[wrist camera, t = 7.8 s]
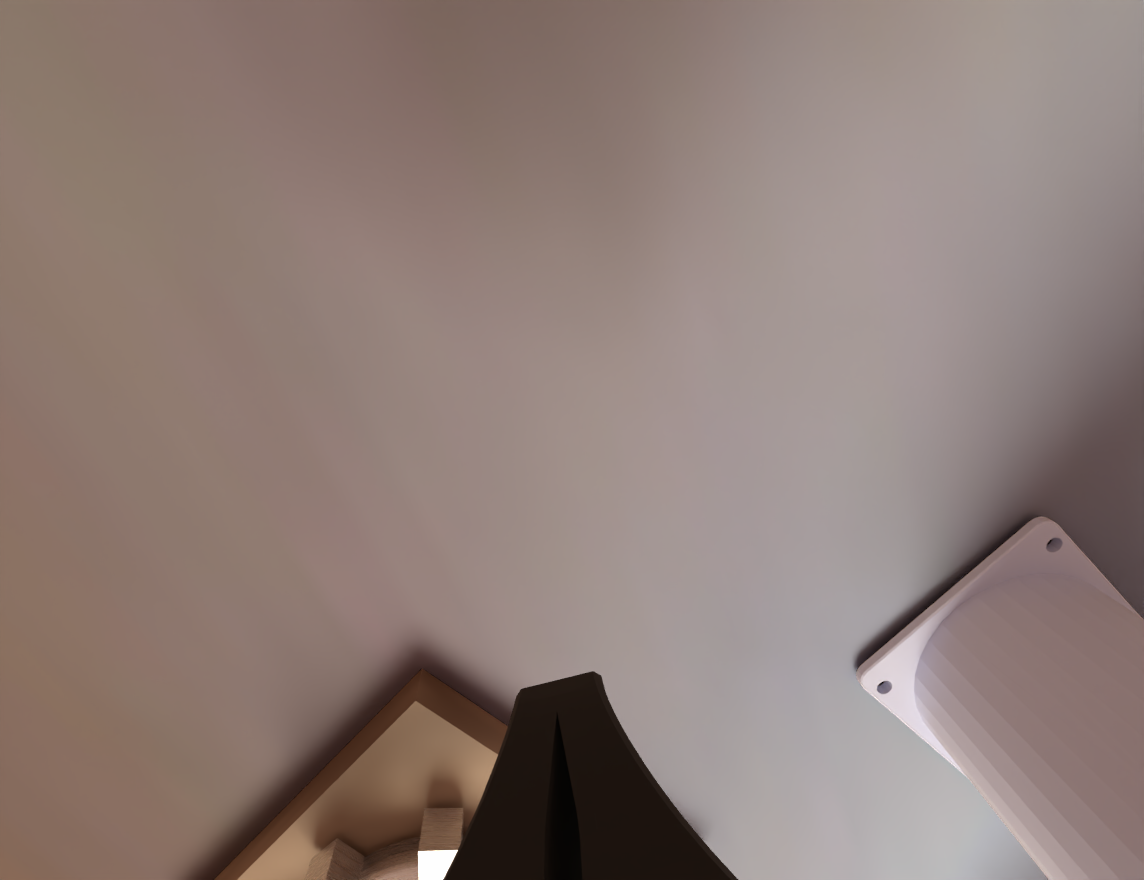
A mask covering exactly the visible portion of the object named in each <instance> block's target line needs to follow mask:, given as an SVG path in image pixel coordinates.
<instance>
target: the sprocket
mask: <svg viewBox="0 0 1144 880" xmlns="http://www.w3.org/2000/svg"><path fill="white" fill-rule="evenodd" d="M463 837H464V835H463V808H427V809H425V810H424V816H423V823H422V830H421V836H420V837H418V838H412V839H407V840H404V841H400V842H397V843H393V844H391V845H388V846H386V847H383V848H381V849H378V850H376V851H374V852H372V853H370V854H368V855H367V856H363V855H362V854H360V853H359V852H357V851H356V850H354V849H353V848H351V847H350V846H348V845H347V844H345V843H344V842H342V841H341V840H339V839H338V838H337V839H335V840H334V841H333V842H332V843H330V844H329V845H328V846H327V847H325V848H324V849H323V850H322V851H320V852H319V853H318V854H317V855H315V856H314V857H313V858H312V859H311V861H310V864H309V868H308V871H307V874H306V877H305V880H443V878H444V876H445V874H446V872H447V871H448V869H449V867H450V865H451V863H452V861H453V859H454V857H455V855H456V853H457V851H458V848H459V846H460V844H461V842H462V840H463Z"/></svg>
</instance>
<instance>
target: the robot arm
mask: <svg viewBox="0 0 1144 880" xmlns="http://www.w3.org/2000/svg"><path fill="white" fill-rule="evenodd" d="M1051 539H1053V540H1052V542H1051V543H1050V544H1049V545H1047V543H1048V542H1049V541H1050V540H1051ZM856 679H857V680H858V681H859V683H860V684H861V686H862V687H863V688H864V689H865V690H866V691H867V692H868V693H870V694H871V695H872V696H873V697H874V698H875V699H876V700H878V701H879V702H880V703H881V704H882V705H883V706H885V707H886V708H887V709H888V710H889V711H890V712H892V713H893V714H894V715H895V716H896V717H897V718H899V719H900V720H901V721H902V722H903V723H904V724H906V725H907V726H908V727H909V728H910V729H911V730H913V731H914V732H915V733H916V734H917V735H918V736H920V737H921V738H922V739H923V740H924V741H925V742H926V743H928V744H929V745H930V746H931V747H932V748H933V749H935V750H936V751H937V752H938V753H939V754H940V755H942V756H943V757H944V758H945V759H946V760H947V761H949V762H950V763H951V764H952V765H953V766H954V767H956V768H957V769H958V770H959V771H960V772H961V773H963V774H964V775H965V776H966V777H967V778H968V779H969V780H970V781H971V783H972V784H973V785H974V786H975V788H976V789H977V790H978V791H979V793H980V794H981V795H982V796H983V798H984V799H985V800H986V801H987V803H988V804H989V805H990V806H991V808H992V809H993V810H994V811H995V813H996V814H997V815H998V816H999V818H1000V819H1001V820H1002V821H1003V823H1004V824H1005V825H1006V826H1007V828H1008V829H1009V830H1010V832H1011V833H1012V834H1013V835H1014V837H1015V838H1016V839H1017V840H1018V842H1019V843H1020V844H1021V845H1022V847H1023V848H1024V849H1025V850H1026V852H1027V853H1028V854H1029V855H1030V857H1031V858H1032V859H1033V860H1034V862H1035V863H1036V864H1037V865H1038V867H1039V868H1040V869H1041V870H1042V872H1043V873H1044V874H1045V876H1046V877H1047V878H1048V879H1049V880H1144V619H1143V618H1142V617H1141V616H1140V615H1139V614H1138V613H1137V612H1136V611H1135V610H1134V609H1133V607H1132V606H1131V605H1130V604H1129V603H1128V602H1127V601H1126V600H1125V599H1124V597H1123V596H1122V595H1121V594H1120V593H1119V592H1118V591H1117V590H1116V589H1115V587H1114V586H1113V585H1112V584H1111V583H1110V582H1109V581H1108V580H1107V578H1106V577H1105V576H1104V575H1103V574H1102V573H1101V572H1100V571H1099V570H1098V568H1097V567H1096V566H1095V565H1094V564H1093V563H1092V562H1091V561H1090V560H1089V558H1088V557H1087V556H1086V555H1085V554H1084V553H1083V552H1082V551H1081V549H1080V548H1079V547H1078V546H1077V545H1076V544H1075V543H1074V542H1073V541H1072V539H1071V538H1070V537H1069V536H1068V535H1067V534H1066V533H1065V532H1064V531H1063V529H1062V528H1061V527H1060V526H1059V525H1058V524H1057V523H1055V522H1054V521H1052V520H1050V519H1049V518H1047V517H1037V518H1034V519H1032V520H1031V521H1029V522H1028V523H1027V524H1026V525H1025V526H1023V527H1022V528H1021V529H1020V530H1019V531H1017V532H1016V533H1015V534H1014V535H1013V536H1012V537H1010V538H1009V539H1008V540H1007V541H1006V542H1005V543H1003V544H1002V545H1001V546H1000V547H999V548H998V549H996V550H995V551H994V552H993V553H992V554H991V555H989V556H988V557H987V558H986V559H985V560H984V561H982V562H981V563H980V564H979V565H978V566H976V567H975V568H974V569H973V570H972V571H971V572H969V573H968V574H967V575H966V576H965V577H964V578H962V579H961V580H960V581H959V582H958V583H957V584H955V585H954V586H953V587H952V588H951V589H950V590H948V591H947V592H946V593H945V594H944V595H943V596H941V597H940V598H939V599H938V600H937V601H936V602H934V603H933V604H932V605H931V606H930V607H928V608H927V609H926V610H925V611H924V612H923V613H921V614H920V615H919V616H918V617H917V618H916V619H914V620H913V621H912V622H911V623H910V624H909V625H907V626H906V627H905V628H904V629H903V630H902V631H900V632H899V633H898V634H897V635H896V636H895V637H893V638H892V639H891V640H890V641H889V642H887V643H886V644H885V645H884V646H883V647H882V648H880V649H879V650H878V651H877V652H876V653H875V654H873V655H872V656H871V657H870V658H869V659H868V660H866V661H865V662H864V663H863V664H862V665H861V666H860V667H859V668H858V670H857V672H856ZM883 681H885V682H884V684H882V685H880V686H878V685H879V684H880V683H881V682H883ZM443 880H738V879H737V878H736V877H735V876H734V875H733V874H732V873H731V871H730V870H729V869H728V868H727V867H726V866H725V865H724V864H723V863H722V862H721V861H720V859H719V858H718V857H717V856H716V855H715V854H714V853H713V852H712V851H711V850H710V848H709V847H708V846H707V845H706V844H705V843H704V841H703V840H702V839H701V838H700V837H699V836H698V834H697V833H696V832H695V831H694V830H693V828H692V827H691V826H690V825H689V824H688V822H687V821H686V820H685V819H684V817H683V816H682V815H681V814H680V812H679V811H678V810H677V808H676V807H675V806H674V805H673V803H672V802H671V801H670V799H669V798H668V796H667V795H666V794H665V792H664V791H663V790H662V788H661V787H660V786H659V784H658V783H657V781H656V780H655V779H654V777H653V776H652V774H651V773H650V771H649V770H648V768H647V767H646V765H645V764H644V762H643V761H642V759H641V758H640V756H639V754H638V753H637V751H636V750H635V748H634V746H633V745H632V743H631V742H630V740H629V739H628V737H627V735H626V733H625V732H624V730H623V728H622V726H621V724H620V722H619V721H618V719H617V717H616V715H615V713H614V711H613V709H612V707H611V704H610V702H609V700H608V697H607V695H606V692H605V689H604V685H603V681H602V677H601V675H599V674H597V673H595V672H593V671H592V672H588V673H584V674H580V675H576V676H572V677H568V678H564V679H560V680H556V681H552V682H548V683H544V684H540V685H535V686H531V687H527V688H523V689H521V690H520V692H519V693H518V695H517V696H516V700H515V704H514V708H513V711H512V715H511V718H510V721H509V724H508V728H507V731H506V734H505V737H504V739H503V742H502V745H501V748H500V751H499V754H498V757H497V759H496V762H495V764H494V767H493V769H492V772H491V775H490V777H489V780H488V782H487V785H486V787H485V790H484V792H483V795H482V797H481V800H480V802H479V804H478V807H477V809H476V811H475V813H474V816H473V818H472V820H471V822H470V824H469V827H468V829H467V831H466V833H465V835H464V837H463V840H462V842H461V844H460V846H459V848H458V851H457V853H456V855H455V857H454V859H453V861H452V863H451V865H450V867H449V869H448V871H447V872H446V874H445V876H444V878H443Z"/></svg>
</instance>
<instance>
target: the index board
mask: <svg viewBox="0 0 1144 880" xmlns="http://www.w3.org/2000/svg"><path fill="white" fill-rule="evenodd" d="M507 728H508V726H507V725H505V724H504V723H502V722H501V721H499V720H498V719H496V718H495V717H493V716H492V715H490V714H489V713H487V712H486V711H484V710H483V709H481V708H480V707H478V706H477V705H475V704H474V703H472V702H471V701H469V700H468V699H466V698H465V697H464V696H462V695H461V694H459V693H458V692H456V691H455V690H453V689H452V688H450V687H449V686H447V685H446V684H444V683H443V682H441V681H440V680H438V679H437V678H435V677H434V676H432V675H431V674H429V673H428V672H426V671H425V670H423V669H421V670H420V671H419V672H418V673H417V674H416V675H415V676H414V677H413V678H412V679H411V680H410V681H409V682H408V683H407V684H406V685H405V686H404V688H403V689H402V690H401V691H400V692H399V693H398V694H397V695H396V696H395V697H394V698H393V699H392V700H391V701H390V702H389V703H388V704H387V705H386V706H385V707H384V708H383V709H382V710H381V711H380V712H379V713H378V714H377V715H376V716H375V717H374V718H373V719H372V720H371V721H370V722H369V723H368V724H367V725H366V726H365V727H364V728H363V729H362V730H361V731H360V732H359V733H358V734H357V735H356V736H355V737H354V738H353V739H352V740H351V741H350V742H349V743H348V744H347V745H346V746H345V747H344V748H343V749H342V750H341V751H340V752H339V753H338V754H337V755H336V756H335V757H334V758H333V759H332V760H331V761H330V762H329V763H328V764H327V766H326V767H325V768H324V769H323V770H322V771H321V772H320V773H319V774H318V775H317V776H316V777H315V778H314V779H313V780H312V781H311V782H310V783H309V784H308V785H307V786H306V787H305V788H304V789H303V790H302V791H301V792H300V793H299V794H298V795H297V796H296V797H295V798H294V799H293V800H292V801H291V802H290V803H289V804H288V805H287V806H286V807H285V808H284V809H283V810H282V811H281V812H280V813H279V814H278V815H277V816H276V817H275V818H274V819H273V820H272V821H271V822H270V823H269V824H268V825H267V826H266V827H265V828H264V829H263V830H262V831H261V832H260V833H259V834H258V835H257V836H256V837H255V838H254V839H253V840H252V841H251V842H250V844H249V845H248V846H247V847H246V848H245V849H244V850H243V851H242V852H241V853H240V854H239V855H238V856H237V857H236V858H235V859H234V860H233V861H232V862H231V863H230V864H229V865H228V866H227V867H226V868H225V869H224V870H223V871H222V872H221V873H220V874H219V875H218V876H217V877H216V878H215V879H214V880H305V877H306V874H307V871H308V868H309V864H310V861H311V859H312V858H313V857H314V856H315V855H317V854H318V853H319V852H320V851H322V850H323V849H324V848H325V847H327V846H328V845H329V844H330V843H332V842H333V841H334V840H335V839H337V838H338V839H339V840H341V841H342V842H344V843H345V844H347V845H348V846H350V847H351V848H353V849H354V850H356V851H357V852H359V853H360V854H362V855H363V856H367V855H368V854H370V853H372V852H374V851H376V850H378V849H381V848H383V847H386V846H388V845H391V844H393V843H397V842H400V841H404V840H407V839H412V838H418V837H420V836H421V830H422V823H423V816H424V810H425V809H427V808H463V835H465V833H466V831H467V829H468V827H469V824H470V822H471V820H472V818H473V816H474V813H475V811H476V809H477V807H478V804H479V802H480V800H481V797H482V795H483V792H484V790H485V787H486V785H487V782H488V780H489V777H490V775H491V772H492V769H493V767H494V764H495V762H496V759H497V757H498V754H499V751H500V748H501V745H502V742H503V739H504V737H505V734H506V731H507Z"/></svg>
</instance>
